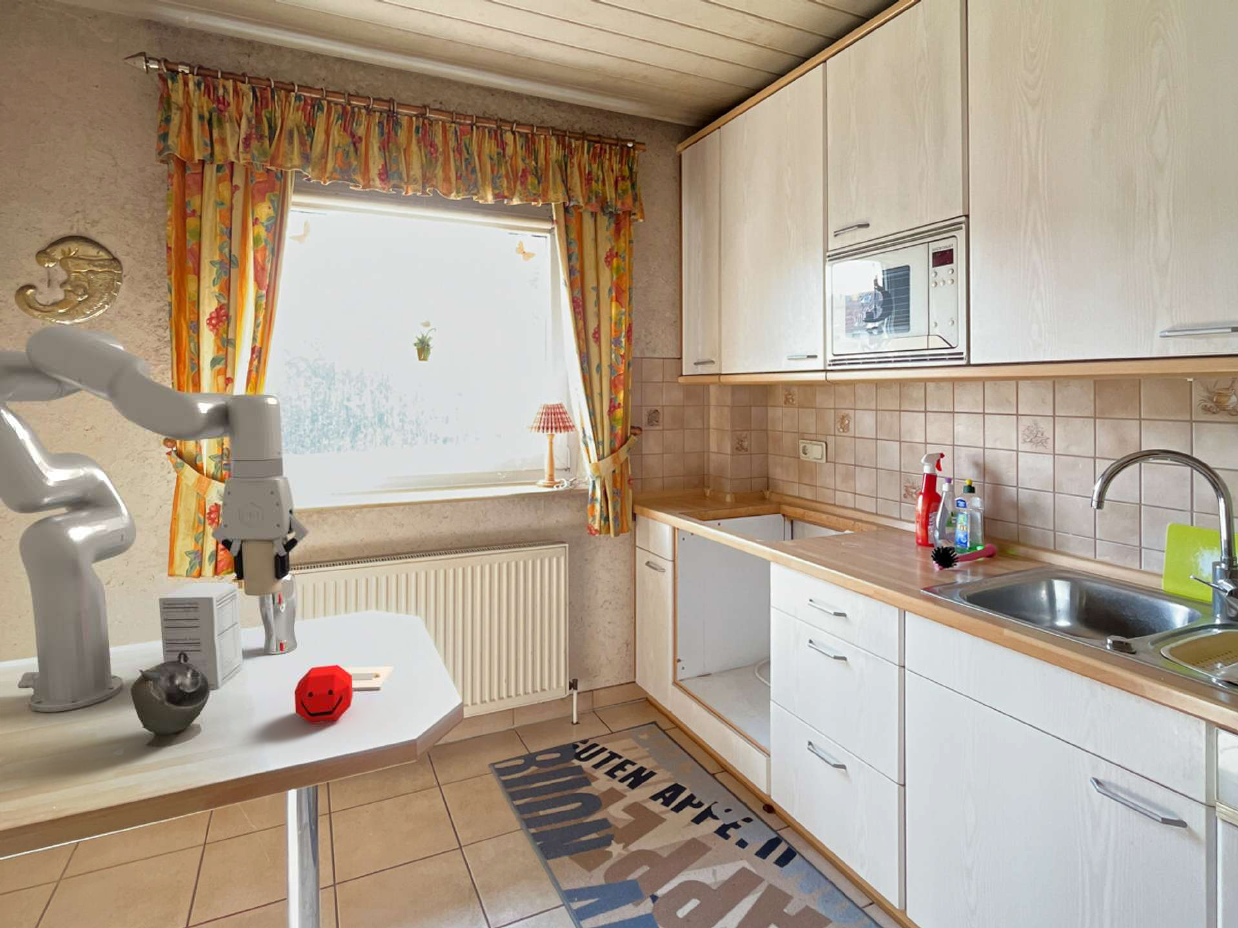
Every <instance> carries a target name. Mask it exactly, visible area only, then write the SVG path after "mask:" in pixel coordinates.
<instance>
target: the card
mask: <svg viewBox="0 0 1238 928" xmlns="http://www.w3.org/2000/svg"><path fill="white" fill-rule="evenodd" d="M341 668H342V669H344V670H345V671H346V672H348V673H349V674H350V675H352V691H372V690H373V691H375V690H376V691H377V690H382V688H383V687H384V685H385V683H386V681H387V680H388V679H389V677H390V676H391V674H392V673H393V671H394V670H395V666H394V665H393V666H363V667H362V666H359V667H357V666H356V667H355V666H353V667H352V666H350V667H341Z"/></svg>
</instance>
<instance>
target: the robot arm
mask: <svg viewBox="0 0 1238 928" xmlns="http://www.w3.org/2000/svg"><path fill="white" fill-rule="evenodd" d="M81 391H84V392H87V393H88V394H90V395H91V394H92V395H94V396H96V397H97V398H100V399H102V400H104V401H108V402H109V403H111V404H112V407H114V409H115V410H116V411H117V412H118V413H119V414H120V415H121V416H122V417H123V418H124V419H125V420H127V421H129V422H130V423H132V424H134V425H136V426H138V427H140V428H143V429H146V430H147V431H150V432H152V433H154V434H156V435H160V436H162V437H165V438H167V439H169V440H170V439H171V440H173V441H179V442H180V441H181V442H191V441H200V440H214V439H224V438H225V439H226V438H229V455H230V456H229V458H230V459H229V460H228V462H223V464H222V470H223V471H224V472H229V476H230V478H227V479H225V482H224V488H223V495H222V505H221V506H222V507H221V522H220V523H219V524H218V525H217V526H216V528H214V530H213V531H212V532H211V537H212V538H213V539H215V541H217V542H218V543H220V544H221V546H223V548H224V549H226V550H227V551H228V552H229V554H230V556H232V557H233V572H234V574H235V575H236V580H237V581H242V580H244V574H243V555H242V542H243V541H244V540H273V542H274V545H275V547H276V550H277V552H278V555H277V556H275V575H276V579H277V580H278V579H282V578H284V577H285V576H287V575H288V573H290V570H291V565H290V553H291V552H292V551H293V549H295V548H296V546H297V545H298V544H299V543H300V542H301V541H302V540H304V539H305V538H306V537H307V536H308V535H309V532H310V531H309V530H308V529H307V528H306V527H305V526H304V525H303V524H302V523H301V522H300V521H299V520H298V519H297V518H296V515H295V509H294V508H295V506H294V500H293V494H292V491H291V486H290V483H289V479H288V477H287V476H284V466H283V464H284V463H283V444H282V443H283V442H282V417H281V404H280V401H279V399H278V397H276V396H274V395H272V394H271V395H270V394H259V393H258V394H257V393H256V394H229V393H224V392H223V393H221V392H183V391H179V390H177V389H174V388H172V387H169V386H167V385H164V384H162V383H160V382H158V381H156V380H154V379H152V378H151V369H150V365H149V364H148V362H147V361H146V360H145V359H143V358H142V357H140V356H137V355H136V354H134V353H131V352H129V351H127V349H126V347H125V345H124V344H123V343H122V342H121V340H120V339H118V337H116V336H114V335H112V334H111V333H108V332H106V331H103V330H98V329H97V330H96V329H91V328H81V327H74V326H67V325H52V326H46V327H42V328H40V329H38V330H36V331H34V332H33V333H32V334H31V335H30V336H29V338H28V339H27V340H26V343H25V351H22V350H21V351H18V350H8V349H0V500H1V501H2V503H3V504H4V505H5V507H7V508H8V509H9V510H11V512H12V511H13V512H15V513H17V514H27V515H28V514H37V513H43V512H48V511H53V510H60V509H65V511H66V512H62V513H57V514H53V515H50V516H45V517H43V518H41V519H39V520H36V521H35V522H33V523H32V524H30V525H29V526H28V527H26V528H25V530H24V532H23V533H22V535H21V536H20V539H19V542H18V543H19V545H18V546H19V547H18V548H19V549H18V550H19V554H20V558H21V562H22V563H23V568H24V569H25V571H26V575H27V577H28V578H27V579H28V582H29V587H30V594H31V600H32V601H31V602H32V603H31V604H32V611H33V622H34V630H35V643H36V644H35V645H36V646H35V647H36V654H37V666H38V668H37V669H38V671H30V672H27V671H26V672H24V673H23V674H22V676H21V679H20V680H19V681H18V684H17V687H18V689H32V690H33V694H32V695H31V696H30V697H29V699H28V706H29V709H32V710H33V711H35V712H36V711H37V712H43V713H45V712H46V713H52V712H55V713H56V712H64V711H70V710H75V709H79V708H83V707H88V706H91V705H93V704H96V703H99V702H102V701H105V700H107V699H109V698H112V697H113V696H115V695H117V694H118V693H119V692H120V691H122V689H123V688H124V680H123V678H122V677H121V676H118V675H116V674H115V675H114V674H112V665H111V653H110V641H109V640H110V639H109V626H108V625H109V624H108V615H107V613H108V612H107V602H106V600H107V599H106V593H105V588H104V585H103V583H102V581H101V579H100V577H99V576H98V574H97V573H96V571H95V570H94V568H93V566H92V565H93V564H95V563H100V562H102V561H105V560H108V559H111V558H114V557H117V556H119V555H121V554H122V555H123V554H124V553H126V552H127V551H129V550H130V548H131V547H132V546H133V545H134V544H135V541H136V538H137V527H136V524H135V521H134V518H133V516H132V514H131V513H130V511H129V509H128V507H127V506H126V503H125V502H124V501H123V498H122V497H121V495H120V493H119V492H118V491H117V488H116V486H115V485H114V483H113V481H112V480H111V478H110V477H109V475H108V473H107V472H106V470H105V469H104V468H103V467H102V466H101V465H100V464H99V463H98V462H97V461H96V460H95V459H93V458H92V457H91V456H88V455H86V454H83V453H78V452H60V453H59V452H58V453H51V452H50V451H49V450H48V449H47V448H46V447H45V445H44V444H43V442H42V441H41V440H40V438H39V436H38V433H37V432H36V430H35V429H34V427H32V425H31V424H30V423H29V422H28V421H27V420H26V419H24V418H23V417H22V416H20V415H19V414H18V413H17V412H16V411H13V410H12V409H11V408H9V407H8V405H6V403H7V402H8V403H9V402H11V403H12V402H15V403H17V402H19V403H20V402H50V401H55V400H56V401H57V400H59V399H63V398H66V397H68V396H71V395H74V394H77V393H79V392H81ZM293 533H294V535H293V536H292V537H291V538H290V539H289V537H288V535H290V534H293Z"/></svg>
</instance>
